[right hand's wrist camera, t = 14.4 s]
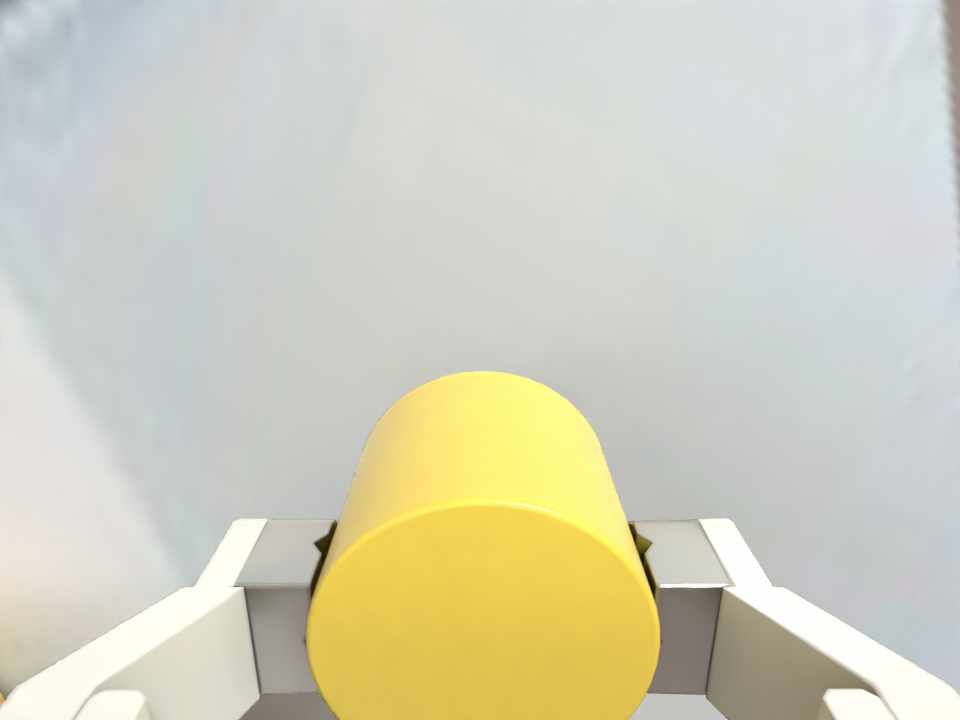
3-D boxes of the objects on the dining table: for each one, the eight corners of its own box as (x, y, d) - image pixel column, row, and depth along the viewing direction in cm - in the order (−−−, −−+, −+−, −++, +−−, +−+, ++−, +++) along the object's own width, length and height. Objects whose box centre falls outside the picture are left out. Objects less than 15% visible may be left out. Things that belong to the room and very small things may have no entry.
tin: (548, 611, 13) (576, 815, 9) (329, 544, 13) (264, 731, 9) (647, 418, 12) (726, 568, 8) (404, 332, 11) (364, 450, 7)
